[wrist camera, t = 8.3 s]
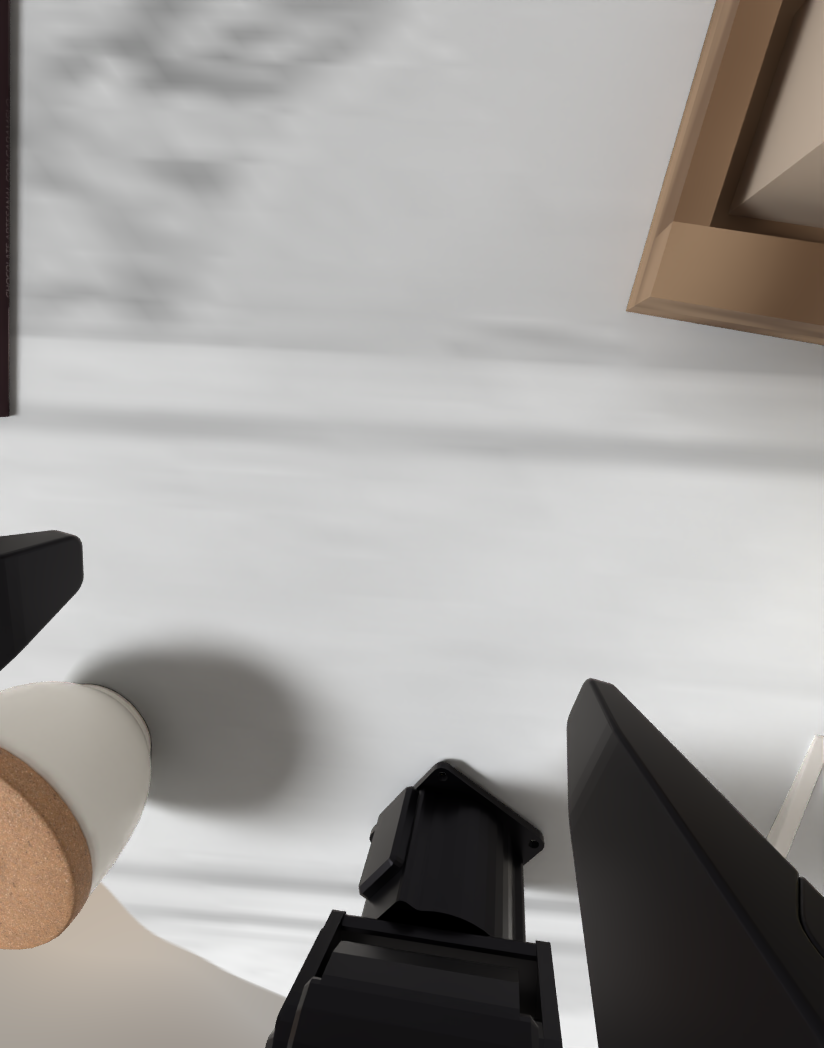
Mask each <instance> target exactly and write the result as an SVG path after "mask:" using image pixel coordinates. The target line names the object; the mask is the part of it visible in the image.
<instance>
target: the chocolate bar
mask: <svg viewBox="0 0 824 1048" xmlns="http://www.w3.org/2000/svg"><path fill="white" fill-rule="evenodd" d="M9 237H10V0H0V417H8V416H9Z"/></svg>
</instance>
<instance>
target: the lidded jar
mask: <svg viewBox="0 0 824 1048" xmlns="http://www.w3.org/2000/svg"><path fill="white" fill-rule="evenodd" d="M150 753H151V738H150V734H149V730H148V728H147V725H146V723H145V721H144V720H143V718H142V716H141V715H140V714H139V712H138V711H137V710H136V708H135V707H134V706H133V705H132V704H131V703H130V702H129V701H127V700H126V699H125V698H124V697H122V696H121V695H119V694H118V693H116V692H114V691H112V690H110V689H108V688H105V687H103V686H99V685H94V684H76V683H69V682H58V681H49V682H36V683H29V684H24V685H19V686H15V687H11V688H8V689H5V690H2V691H0V948H1V949H27V948H33V947H36V946H39V945H42V944H45V943H47V942H49V941H51V940H52V939H54V938H56V937H58V936H59V935H60V934H61V933H62V932H63V931H64V930H65V929H66V928H67V927H68V926H69V925H70V923H71V922H72V921H73V920H74V918H75V917H76V916H77V915H78V913H79V912H80V910H81V909H82V908H83V906H84V904H85V902H86V900H87V899H88V897H89V895H90V894H91V893H92V892H93V891H94V889H95V888H96V887H97V886H98V884H99V883H100V882H101V881H102V879H103V878H104V877H105V875H106V874H107V873H108V871H109V870H110V869H111V867H112V866H113V865H114V863H115V862H116V860H117V858H118V857H119V855H120V854H121V852H122V851H123V849H124V848H125V846H126V844H127V843H128V841H129V839H130V838H131V836H132V834H133V832H134V830H135V828H136V826H137V824H138V822H139V821H140V818H141V816H142V813H143V810H144V807H145V804H146V801H147V798H148V795H149V788H150V781H151V760H150Z"/></svg>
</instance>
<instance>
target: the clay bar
mask: <svg viewBox="0 0 824 1048" xmlns="http://www.w3.org/2000/svg"><path fill="white" fill-rule="evenodd" d="M728 214H730V215H737V216H744V217H750V218H757V219H764V220H771V221H777V222H784V223H791V224H797V225H804V226H811V227H818V228H824V0H806V1H805V2H804V4H803V5H802V6H801V7H800V9H799V10H798V11H797V13H796V14H795V15H794V18H793V21H792V24H791V27H790V30H789V33H788V36H787V39H786V42H785V45H784V48H783V51H782V54H781V57H780V60H779V63H778V66H777V69H776V72H775V75H774V78H773V81H772V84H771V87H770V90H769V93H768V96H767V99H766V102H765V105H764V108H763V111H762V114H761V117H760V120H759V123H758V126H757V129H756V132H755V135H754V138H753V141H752V144H751V147H750V150H749V153H748V156H747V159H746V162H745V165H744V168H743V171H742V174H741V177H740V180H739V183H738V186H737V189H736V192H735V195H734V198H733V201H732V204H731V207H730V210H729V213H728Z"/></svg>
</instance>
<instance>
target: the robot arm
mask: <svg viewBox="0 0 824 1048" xmlns="http://www.w3.org/2000/svg"><path fill="white" fill-rule="evenodd" d="M83 577H84V573H83V549H82V542H81V540H80V538H78V537H77V536H75V535H72V534H68V533H65V532H61V531H57V530H50V531H42V532H34V533H25V534H17V535H9V536H0V671H1V670H2V669H3V668H4V667H5V666H6V665H7V664H8V663H9V662H10V661H12V660H13V659H14V658H15V657H16V656H17V655H18V654H19V653H20V652H21V651H22V650H23V649H24V648H25V647H26V646H27V645H28V644H29V642H30V641H31V640H32V639H33V638H34V637H35V636H36V635H37V634H38V633H39V632H40V631H41V630H42V629H43V628H44V627H45V625H46V624H47V623H48V622H49V621H50V620H51V619H52V618H53V617H54V616H55V615H56V614H57V613H58V612H59V611H60V610H61V608H62V607H63V606H64V605H65V604H66V603H67V602H68V601H69V600H70V599H71V598H72V597H73V596H74V595H75V594H76V592H77V591H78V590H79V588H80V587H81V585H82V582H83ZM567 771H568V811H569V824H570V834H571V841H572V849H573V857H574V864H575V872H576V880H577V887H578V895H579V902H580V910H581V918H582V925H583V933H584V941H585V948H586V956H587V963H588V971H589V979H590V986H591V994H592V1001H593V1009H594V1017H595V1024H596V1032H597V1040H598V1047H599V1048H824V897H823V896H822V895H821V894H820V893H819V892H818V891H817V890H816V889H815V888H814V887H813V886H812V885H811V884H810V883H809V882H808V881H807V880H806V879H805V878H804V877H799V873H798V871H797V870H796V869H795V868H794V867H793V866H792V865H791V864H790V863H789V862H788V861H787V860H786V859H785V858H784V857H783V856H782V855H781V854H780V853H779V852H778V851H777V850H776V849H775V848H774V847H773V846H772V845H771V844H770V843H769V842H768V840H767V839H766V838H765V837H764V836H763V835H762V834H761V833H760V832H759V831H758V830H757V829H756V828H755V827H754V826H753V825H752V824H751V823H750V822H749V821H748V820H747V819H746V818H745V817H744V816H743V815H742V814H741V813H740V812H739V811H738V810H737V809H736V808H735V807H734V806H733V805H732V804H731V803H730V802H729V801H728V800H727V799H726V798H725V797H724V796H723V795H722V794H721V793H720V792H719V791H718V790H717V789H716V788H715V787H714V786H713V785H712V784H711V783H710V782H709V781H708V780H707V779H706V778H705V777H704V776H703V775H702V774H701V773H700V772H699V771H698V770H697V769H696V768H695V767H694V766H693V765H692V764H691V763H690V762H689V761H688V760H687V759H686V758H685V757H684V756H683V755H682V754H681V753H680V752H679V751H678V750H677V748H676V747H675V746H674V745H673V744H672V743H671V742H670V741H669V740H668V739H667V738H666V737H665V736H664V735H663V734H662V733H661V732H660V731H659V730H658V729H657V728H656V727H655V726H654V725H653V724H652V723H651V722H650V721H649V720H648V719H647V718H646V717H645V716H644V715H643V714H642V713H641V712H640V711H639V710H638V709H637V708H636V707H635V706H634V705H633V704H632V703H631V702H630V701H629V700H628V699H627V698H626V697H625V696H624V695H623V694H622V693H621V692H620V691H619V690H618V689H617V688H616V687H615V686H614V685H613V684H610V683H607V682H603V681H600V680H596V679H592V678H590V679H587V680H586V681H585V682H584V684H583V685H582V688H581V690H580V692H579V694H578V696H577V699H576V701H575V703H574V705H573V707H572V710H571V712H570V714H569V717H568V722H567ZM440 772H443V773H446V775H442V774H440ZM531 840H536V841H531ZM370 841H371V846H370V849H369V853H368V856H367V859H366V863H365V866H364V870H363V873H362V876H361V880H360V883H359V893H360V895H361V896H363V897H364V898H366V901H365V905H364V909H363V913H362V916H361V917H360V916H353V915H347V914H346V912H345V911H339V910H332V912H331V914H330V916H329V918H328V920H327V922H326V924H325V926H324V928H322V929H321V931H320V933H319V935H318V937H317V939H316V941H315V943H314V945H313V946H312V948H311V950H310V952H309V954H308V956H307V958H306V960H305V962H304V964H303V966H302V968H301V970H300V972H299V974H298V976H297V978H296V980H295V982H294V984H293V986H292V988H291V990H290V992H289V994H288V996H287V998H286V1000H285V1002H284V1004H283V1006H282V1008H281V1010H280V1012H279V1015H278V1017H277V1020H276V1025H275V1029H274V1030H273V1031H272V1033H271V1034H270V1036H269V1037H268V1040H267V1043H266V1047H265V1048H563V1047H562V1038H561V1029H560V1021H559V1012H558V1004H557V996H556V987H555V979H554V970H553V962H552V953H551V945H550V942H543V941H536V943H530V942H526V935H525V906H524V877H523V865H525V864H526V863H527V862H528V861H529V860H531V859H532V858H533V857H534V856H535V855H537V854H538V853H539V852H540V851H542V849H543V848H544V837H543V834H542V833H541V832H540V831H539V830H537V829H536V828H535V827H533V826H532V825H531V824H529V823H528V822H527V821H525V820H524V819H523V818H521V817H520V816H518V815H517V814H516V813H514V812H513V811H512V810H510V809H509V808H508V807H506V806H505V805H504V804H502V803H501V802H500V801H498V800H497V799H496V798H494V797H493V796H491V795H490V794H489V793H487V792H486V791H485V790H483V789H482V788H481V787H479V786H478V785H477V784H475V783H474V782H473V781H471V780H470V779H469V778H467V777H466V776H464V775H463V774H462V773H460V772H459V771H458V770H456V769H455V768H454V767H452V766H451V765H450V764H448V763H446V762H438V763H437V764H435V765H434V766H433V767H432V768H431V769H430V770H429V771H428V772H427V773H426V774H425V775H424V776H423V777H422V778H421V779H420V780H419V781H418V782H417V783H416V784H415V785H414V786H413V787H412V786H410V787H407V788H405V789H404V790H403V791H402V792H401V793H400V794H399V795H398V796H397V797H396V798H395V800H394V801H393V802H392V803H391V804H390V805H389V806H388V807H387V808H386V809H385V810H384V811H383V812H382V813H381V814H380V815H379V818H378V822H377V824H376V825H375V826H374V827H373V829H372V831H371V834H370Z"/></svg>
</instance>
